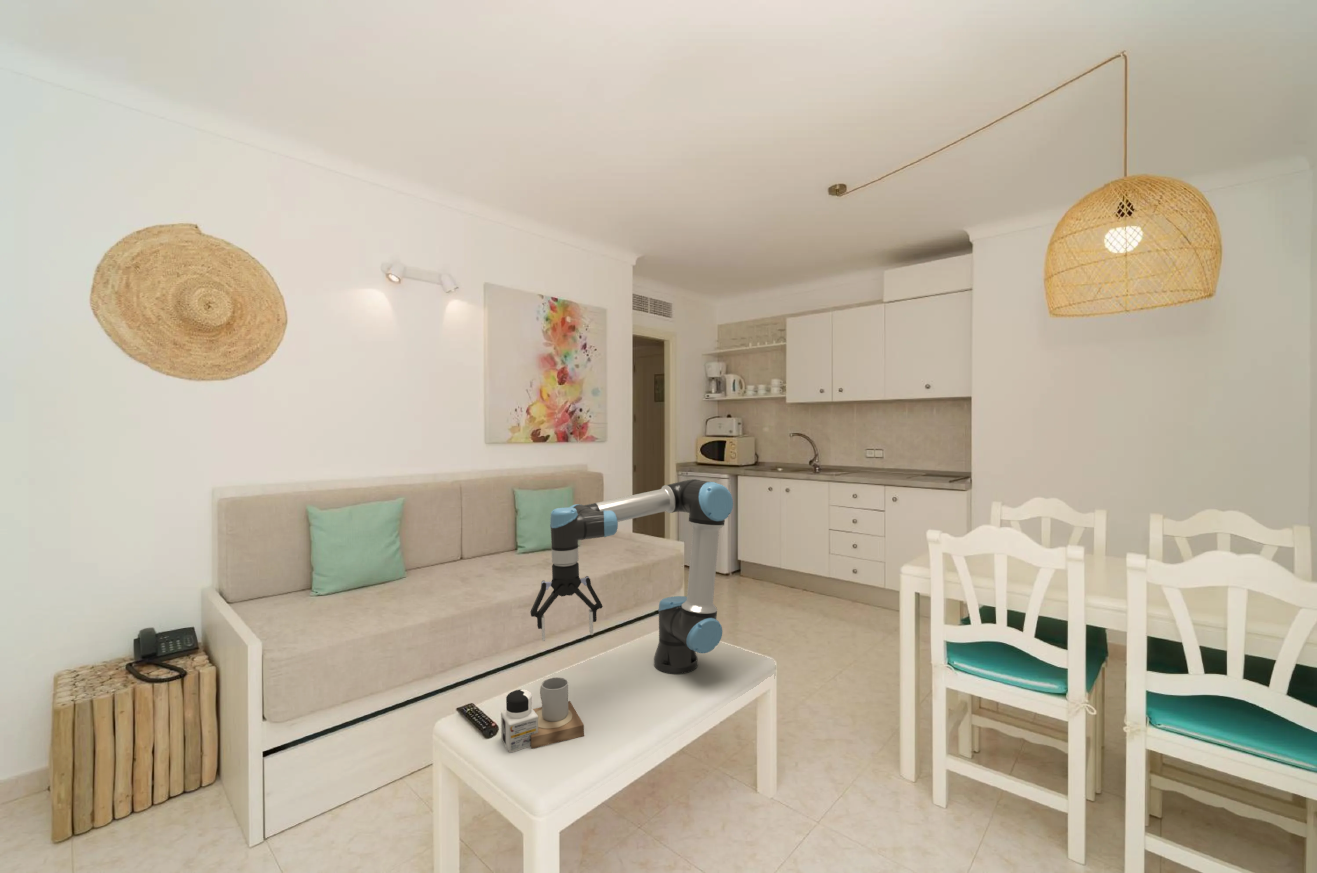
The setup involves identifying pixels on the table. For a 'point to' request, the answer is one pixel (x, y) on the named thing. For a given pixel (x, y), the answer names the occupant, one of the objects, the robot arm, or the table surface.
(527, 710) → the container
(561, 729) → the pedestal
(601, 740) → the table surface
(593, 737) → the table surface
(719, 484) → the robot arm
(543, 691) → the cup
